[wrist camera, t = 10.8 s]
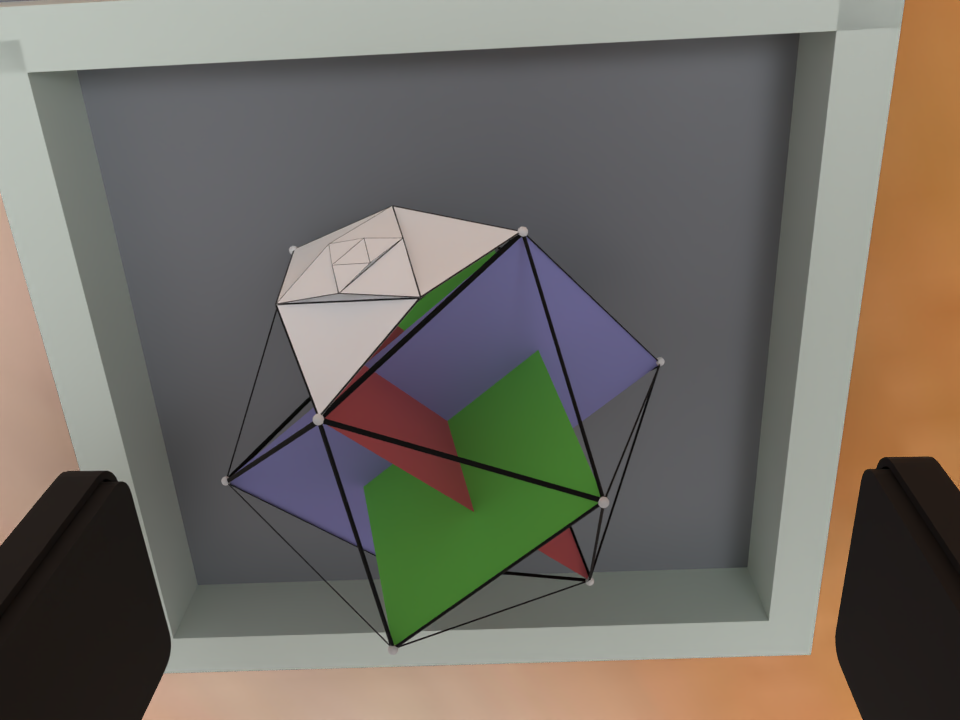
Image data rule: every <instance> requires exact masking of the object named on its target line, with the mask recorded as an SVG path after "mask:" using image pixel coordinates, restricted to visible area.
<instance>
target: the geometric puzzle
mask: <svg viewBox="0 0 960 720" xmlns="http://www.w3.org/2000/svg"><path fill="white" fill-rule="evenodd" d="M527 234H528V230H527V228H526V227H520V228H519V229H518V230H514V229H509V228H504V227H499V226H494V225H489V224H484V223H479V222H474V221H469V220H464V219H459V218H454V217H449V216H444V215H439V214H434V213H429V212H424V211H419V210H414V209H409V208H404V207H399V206H394V205H392V206H390V207H387V208H385V209H383V210H381V211H378V212H376V213H374V214H372V215H369V216H367V217H365V218H363V219H360V220H358V221H356V222H354V223H351V224H349V225H347V226H345V227H342V228H340V229H338V230H336V231H333V232H331V233H329V234H327V235H324V236H322V237H320V238H317V239H315V240H313V241H311V242H308V243H306V244H304V245H302V246H299V247H296V246H291V247H290V248H289V252H290V254H292V255H291V258H290V261H289V264H288V267H287V270H286V273H285V276H284V279H283V282H282V285H281V288H280V291H279V294H278V297H277V300H276V303H275V307H276V311H275V314H274V317H273V321H272V324H271V328H270V331H269V334H268V338H267V341H266V345H265V348H264V351H263V355H262V358H261V362H260V365H259V368H258V372H257V375H256V379H255V382H254V385H253V389H252V392H251V396H250V399H249V402H248V406H247V409H246V412H245V416H244V419H243V423H242V426H241V429H240V433H239V436H238V440H237V443H236V446H235V450H234V453H233V457H232V460H231V463H230V467H229V470H228V474H227V476H225V477H223V478H222V480H221V482H222V484H223V485H225V486H226V485H229V486H230V487H231V488H232V489H233V490H234V491H235V492H236V493H237V494H238V495H239V496H240V497H241V498H242V499H243V500H244V501H245V502H246V503H247V504H248V505H249V506H250V507H251V508H252V509H253V510H254V511H255V512H256V513H257V514H258V515H259V516H260V517H261V518H262V519H263V520H264V521H265V522H266V523H267V524H268V525H269V526H270V527H271V528H272V529H273V530H274V531H275V532H276V533H277V534H278V535H279V536H280V537H281V538H282V539H283V540H284V541H285V542H286V543H287V544H288V545H289V546H290V547H291V548H292V549H293V550H294V551H295V552H296V553H297V554H298V555H299V556H300V557H301V558H302V559H303V560H304V561H305V562H306V563H307V564H308V565H309V566H310V567H311V568H312V569H313V570H314V571H315V572H316V573H317V574H318V575H319V576H320V577H321V578H322V579H323V580H324V581H325V582H326V583H327V584H328V585H329V586H330V587H331V588H332V589H333V590H334V591H335V592H336V593H337V594H338V595H339V596H340V597H341V598H342V599H343V600H344V601H345V602H346V603H347V604H348V605H349V606H350V607H351V608H352V609H353V610H354V611H355V612H356V613H357V614H358V615H359V616H360V617H361V618H362V619H363V620H364V621H365V622H366V623H367V624H368V625H369V626H370V627H371V628H372V629H373V630H374V631H375V632H376V633H377V634H378V635H379V636H380V637H381V638H382V639H383V640H384V641H385V642H386V643H387V644H388V645H389V647H388V652H389V654H391V655H395V654H397V652H398V648H400V647H402V646H405V645H408V644H411V643H414V642H417V641H420V640H423V639H425V638H428V637H431V636H434V635H437V634H440V633H443V632H445V631H448V630H451V629H454V628H457V627H460V626H463V625H466V624H468V623H471V622H474V621H477V620H480V619H483V618H486V617H489V616H491V615H494V614H497V613H500V612H503V611H506V610H509V609H511V608H514V607H517V606H520V605H523V604H526V603H529V602H532V601H534V600H537V599H540V598H543V597H546V596H549V595H552V594H554V593H557V592H560V591H563V590H566V589H569V588H572V587H575V586H577V585H580V584H583V583H586V584H587V585H589V586H591V585H593V584H594V579H593V578H592V575H593V571H594V568H595V565H596V562H597V559H598V556H599V553H600V550H601V547H602V544H603V541H604V538H605V534H606V531H607V528H608V525H609V522H610V519H611V516H612V513H613V510H614V507H615V504H616V501H617V497H618V494H619V491H620V488H621V485H622V482H623V479H624V476H625V473H626V470H627V467H628V464H629V460H630V457H631V454H632V451H633V448H634V445H635V442H636V439H637V436H638V433H639V430H640V427H641V423H642V420H643V417H644V414H645V411H646V408H647V405H648V402H649V399H650V396H651V393H652V390H653V386H654V383H655V380H656V377H657V374H658V371H659V368H660V366H662V365H663V364H664V362H665V361H664V359H663V358H662V357H658V358H657V359H656V358H655V357H654V356H653V355H652V354H651V353H650V352H649V351H648V350H647V349H646V348H645V347H644V346H643V345H642V344H641V343H640V342H639V341H638V340H637V339H636V338H634V337H633V336H632V335H631V334H630V333H629V332H628V331H627V330H626V329H625V328H624V327H623V326H622V325H621V324H620V323H619V322H618V321H617V320H616V319H615V318H614V317H612V316H611V315H610V314H609V313H608V312H607V311H606V310H605V309H604V308H603V307H602V306H601V305H600V304H599V303H598V302H597V301H596V300H595V299H594V298H593V297H592V296H591V295H589V294H588V293H587V292H586V291H585V290H584V289H583V288H582V287H581V286H580V285H579V284H578V283H577V282H576V281H575V280H574V279H573V278H572V277H571V276H570V275H569V274H567V273H566V272H565V271H564V270H563V269H562V268H561V267H560V266H559V265H558V264H557V263H556V262H555V261H554V260H553V259H552V258H551V257H550V256H549V255H548V254H547V253H545V252H544V251H543V250H542V249H541V248H540V247H539V246H538V245H537V244H536V243H535V242H534V241H533V240H532V239H531V238H530V237H529V236H528V235H527ZM506 242H507V243H506ZM505 243H506V244H505ZM503 244H505V245H504V246H503V247H502V248H500V246H501V245H503ZM497 248H498V249H499V250H498V251H497V252H495V249H497ZM277 312H278V315H279V317H280V320H281V322H282V325H283V328H284V330H285V333H286V336H287V338H288V341H289V344H290V346H291V349H292V352H293V354H294V357H295V359H296V362H297V365H298V367H299V370H300V373H301V375H302V378H303V381H304V383H305V386H306V389H307V391H308V394H309V397H308V398H307V399H306V400H305V401H304V402H303V403H302V404H301V405H300V406H299V407H298V408H297V409H296V410H295V411H294V412H293V413H292V414H291V415H290V416H289V417H288V418H287V419H286V420H285V421H284V422H283V423H282V424H281V425H280V426H279V427H278V428H277V429H276V430H275V431H274V432H273V433H272V434H270V435H269V436H268V437H267V438H266V439H265V440H264V441H263V442H262V443H261V444H260V445H259V446H258V447H257V448H256V449H255V450H254V451H253V452H252V453H251V454H250V455H249V456H248V457H247V458H246V459H245V460H244V461H243V462H242V463H241V464H240V465H239V466H238V467H237V468H236V469H235V470H234V471H233V472H232V473H231V474H230V475H229V472H230V469H231V465H232V462H233V458H234V455H235V452H236V448H237V445H238V441H239V438H240V435H241V431H242V428H243V425H244V421H245V418H246V414H247V411H248V408H249V404H250V401H251V397H252V394H253V391H254V387H255V384H256V380H257V377H258V374H259V370H260V367H261V363H262V360H263V357H264V353H265V350H266V346H267V343H268V340H269V336H270V333H271V330H272V326H273V323H274V319H275V316H276V313H277ZM656 368H657V370H656V373H655V375H654V377H653V380H652V382H651V385H650V387H649V390H648V392H647V395H646V397H645V399H644V402H643V404H642V407H641V409H640V412H639V414H638V417H637V419H636V421H635V424H634V426H633V429H632V431H631V434H630V436H629V439H628V441H627V443H626V446H625V448H624V451H623V453H622V456H621V458H620V461H619V463H618V465H617V468H616V470H615V473H614V475H613V478H612V480H611V483H610V485H609V487H608V490H607V492H606V495H605V496H604V493H603V489H602V486H601V483H600V479H599V476H598V473H597V469H596V466H595V463H594V460H593V456H592V453H591V450H590V446H589V443H588V440H587V436H586V433H585V430H584V426H583V423H582V421H583V420H585V419H586V418H587V417H589V416H590V415H591V414H593V413H594V412H595V411H597V410H598V409H600V408H601V407H602V406H604V405H605V404H606V403H608V402H609V401H610V400H612V399H613V398H614V397H616V396H617V395H618V394H620V393H621V392H623V391H624V390H625V389H627V388H628V387H629V386H631V385H632V384H633V383H635V382H636V381H637V380H639V379H640V378H641V377H643V376H644V375H646V374H647V373H648V372H650V371H652V370H654V369H656ZM646 400H647V401H646ZM310 401H311V402H312V404H313V408H312V409H311V410H310V411H309V412H307V413H306V414H305V415H304V416H303V417H301V418H300V419H299V420H298V421H297V422H295V423H294V424H293V425H292V426H291V427H290V428H288V429H287V430H286V431H285V432H284V433H282V434H281V435H280V436H279V437H278V438H276V439H275V440H274V441H273V442H272V443H270V444H269V445H268V446H267V447H266V448H265V449H263V448H264V447H265V446H266V445H267V444H268V443H269V442H270V441H271V440H272V439H273V438H274V437H275V436H276V435H277V434H278V433H279V432H280V431H281V430H282V429H283V428H284V427H285V426H286V425H287V424H288V423H289V422H290V421H291V420H292V419H293V418H294V417H295V416H296V415H297V414H298V413H299V412H300V411H301V410H302V409H303V408H304V407H305V406H306V405H307V404H308V403H309V402H310ZM645 402H646V404H645ZM644 405H645V407H644ZM643 407H644V410H643ZM642 410H643V413H642V416H641V419H640V422H639V425H638V428H637V431H636V434H635V438H634V441H633V444H632V447H631V450H630V453H629V456H628V459H627V462H626V465H625V468H624V472H623V475H622V478H621V481H620V484H619V487H618V490H617V493H616V496H615V499H614V502H613V505H612V509H611V512H610V515H609V518H608V521H607V524H606V527H605V530H604V533H603V536H602V539H601V542H600V546H599V549H598V552H597V555H596V550H597V545H598V540H599V534H600V529H601V523H602V518H603V512H604V508H606V507H608V505H609V500H608V498H607V496H608V494H609V491H610V489H611V486H612V484H613V481H614V479H615V476H616V474H617V471H618V469H619V466H620V464H621V461H622V459H623V456H624V454H625V452H626V449H627V447H628V444H629V442H630V439H631V437H632V434H633V432H634V429H635V427H636V424H637V422H638V419H639V417H640V415H641V412H642ZM578 424H579V427H580V431H581V434H582V437H583V440H584V444H585V447H586V450H587V454H588V457H589V460H590V464H591V467H592V470H593V473H592V471H591V469H590V466H589V464H588V462H587V460H586V457H585V455H584V453H583V451H582V448H581V446H580V444H579V441H578V439H577V437H576V435H575V432H574V430H573V428H574V427H575V426H577V425H578ZM262 449H263V450H262ZM261 450H262V451H261ZM260 451H261V452H260ZM259 452H260V453H259ZM258 453H259V454H258ZM593 474H594V476H593ZM228 475H229V476H228ZM594 477H595V478H594ZM232 486H233V487H235V488H237V489H239V490H241V491H243V492H245V493H247V494H249V495H251V496H253V497H255V498H257V499H260V500H262V501H264V502H266V503H268V504H270V505H272V506H274V507H276V508H278V509H280V510H282V511H284V512H286V513H288V514H290V515H292V516H294V517H296V518H298V519H300V520H302V521H304V522H306V523H308V524H311V525H313V526H315V527H317V528H319V529H321V530H323V531H325V532H327V533H329V534H331V535H333V536H335V537H337V538H339V539H341V540H343V541H345V542H347V543H349V544H351V545H353V546H355V547H357V548H358V550H359V553H360V556H361V559H362V562H363V565H364V568H365V571H366V574H367V577H368V580H369V583H370V586H371V590H372V593H373V596H374V599H375V602H376V605H377V608H378V611H379V614H380V617H381V620H382V623H383V626H384V629H385V632H386V635H387V639H388V642H389V643H388V642H387V641H386V640H385V639H384V638H383V637H382V636H381V635H380V634H379V633H378V632H377V631H376V630H375V629H374V628H373V627H372V626H371V625H370V624H369V623H368V622H367V621H366V620H365V619H364V618H363V617H362V616H361V615H360V614H359V613H358V612H357V611H356V610H355V609H354V608H353V607H352V606H351V605H350V604H349V603H348V602H347V601H346V600H345V599H344V598H343V597H342V596H341V595H340V594H339V593H338V592H337V591H336V590H335V589H334V588H333V587H332V586H331V585H330V584H329V583H328V582H327V581H326V580H325V579H324V578H323V577H322V576H321V575H320V574H319V573H318V572H317V571H316V570H315V569H314V568H313V567H312V566H311V565H310V564H309V563H308V562H307V561H306V560H305V559H304V558H303V557H302V556H301V555H300V554H299V553H298V552H297V551H296V550H295V549H294V548H293V547H292V546H291V545H290V544H289V543H288V542H287V541H286V540H285V539H284V538H283V537H282V536H281V535H280V534H279V533H278V532H277V531H276V530H275V529H274V528H273V527H272V526H271V525H270V524H269V523H268V522H267V521H266V520H265V519H264V518H263V517H262V516H261V515H260V514H259V513H258V512H257V511H256V510H255V509H254V508H253V507H252V506H251V505H250V504H249V503H248V502H247V501H246V500H245V499H244V498H243V497H242V496H241V495H240V494H239V493H238V492H237V491H236V490H235V489H234V488H233V487H232ZM598 507H601V511H600V517H599V522H598V528H597V534H596V540H595V545H594V551H593V557H592V562H591V568H590V572H589V569H588V567H587V564H586V562H585V559H584V556H583V554H582V551H581V549H580V546H579V544H578V541H577V539H576V536H575V534H574V531H573V528H572V525H574V524H575V523H577V522H578V521H580V520H581V519H582V518H584V517H585V516H587V515H588V514H590V513H591V512H592V511H594V510H595V509H597V508H598ZM537 550H539V551H541V552H542V553H544V554H546V555H547V556H549V557H551V558H552V559H554V560H556V561H558V562H559V563H561V564H563V565H564V566H566V567H568V568H569V569H571V570H573V571H574V572H576V573H578V574H579V575H581V576H583V577H585V578H576V577H565V576H554V575H542V574H531V573H520V572H509V571H508V570H509V569H511V568H512V567H514V566H515V565H517V564H518V563H519V562H521V561H522V560H524V559H525V558H527V557H528V556H529V555H531V554H532V553H534V552H535V551H537ZM364 551H366V552H368V553H370V554H372V555H374V556H376V559H377V565H378V570H379V576H380V581H381V586H382V592H383V597H384V603H385V608H386V614H387V619H388V624H387V621H386V618H385V615H384V612H383V609H382V606H381V603H380V599H379V596H378V593H377V590H376V587H375V584H374V581H373V578H372V575H371V572H370V569H369V565H368V562H367V559H366V556H365V553H364ZM595 556H596V558H595ZM502 574H505V575H516V576H527V577H538V578H549V579H560V580H571V581H582V582H581V583H578V584H575V585H573V586H570V587H567V588H564V589H561V590H558V591H555V592H552V593H549V594H547V595H544V596H541V597H538V598H535V599H532V600H529V601H526V602H524V603H521V604H518V605H515V606H512V607H509V608H506V609H503V610H500V611H498V612H495V613H492V614H489V615H486V616H483V617H480V618H477V619H475V620H472V621H469V622H466V623H463V624H460V625H457V626H454V627H451V628H449V629H446V630H443V631H440V632H437V633H434V634H431V635H428V636H426V637H423V638H420V639H417V640H414V641H411V642H408V643H405V642H406V641H408V640H409V639H411V638H412V637H414V636H415V635H416V634H418V633H419V632H421V631H422V630H424V629H425V628H426V627H428V626H429V625H431V624H432V623H434V622H435V621H436V620H438V619H439V618H441V617H442V616H444V615H445V614H447V613H448V612H449V611H451V610H452V609H454V608H455V607H457V606H458V605H459V604H461V603H462V602H464V601H465V600H467V599H468V598H469V597H471V596H472V595H474V594H475V593H477V592H478V591H479V590H481V589H482V588H484V587H485V586H487V585H488V584H489V583H491V582H492V581H494V580H495V579H497V578H498V577H499V576H501V575H502ZM388 625H389V627H388ZM404 643H405V644H404ZM402 644H403V645H402Z"/></svg>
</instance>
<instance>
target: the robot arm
mask: <svg viewBox="0 0 960 720" xmlns="http://www.w3.org/2000/svg"><path fill="white" fill-rule="evenodd" d="M835 640H836V652H837V656H838V660H839V663H840V666H841V668H842V671H843V673H844V676H845V678H846V681H847V683H848V685H849V688H850V690H851V693H852V695H853V697H854V700H855V702H856V705H857V707H858V709H859V712H860V714H861V717H862V719H863V720H960V491H959V490H958V488H957V487H956V486H955V484H954V483H953V482H952V480H951V479H950V478H949V476H948V475H947V474H946V472H945V471H944V470H943V468H942V467H941V465H940V464H939V463H938V462H937V461H936V460H935V459H934V458H932V457H884V458H882V459H881V460H880V461H879V463H878V465H877V468H876V469H867V470H866V471H865V472H864V474H863V476H862V480H861V485H860V491H859V497H858V503H857V509H856V515H855V521H854V527H853V533H852V539H851V545H850V551H849V556H848V562H847V568H846V574H845V580H844V586H843V592H842V598H841V604H840V610H839V616H838V622H837V628H836V636H835ZM170 653H171V637H170V632H169V629H168V625H167V621H166V618H165V614H164V610H163V607H162V603H161V599H160V596H159V592H158V588H157V585H156V581H155V577H154V574H153V570H152V566H151V563H150V559H149V555H148V552H147V548H146V544H145V541H144V537H143V534H142V530H141V526H140V523H139V519H138V515H137V512H136V508H135V504H134V501H133V497H132V493H131V490H130V488H129V486H128V485H127V483H125V482H123V481H118V480H117V478H116V476H115V475H114V474H113V473H112V472H110V471H67V472H63V473H62V474H60V475H59V476H58V477H57V478H56V479H55V481H54V482H53V483H52V484H51V486H50V487H49V488H48V489H47V490H46V492H45V493H44V494H43V495H42V496H41V498H40V499H39V500H38V501H37V502H36V504H35V505H34V506H33V507H32V509H31V510H30V511H29V512H28V513H27V515H26V516H25V517H24V518H23V519H22V521H21V522H20V523H19V524H18V525H17V527H16V528H15V529H14V530H13V532H12V533H11V534H10V535H9V536H8V538H7V539H6V540H5V541H4V542H3V544H2V545H1V546H0V720H142V718H143V716H144V713H145V711H146V709H147V707H148V705H149V703H150V701H151V699H152V697H153V694H154V692H155V690H156V688H157V686H158V684H159V682H160V680H161V678H162V676H163V673H164V671H165V669H166V667H167V665H168V662H169V658H170Z"/></svg>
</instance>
